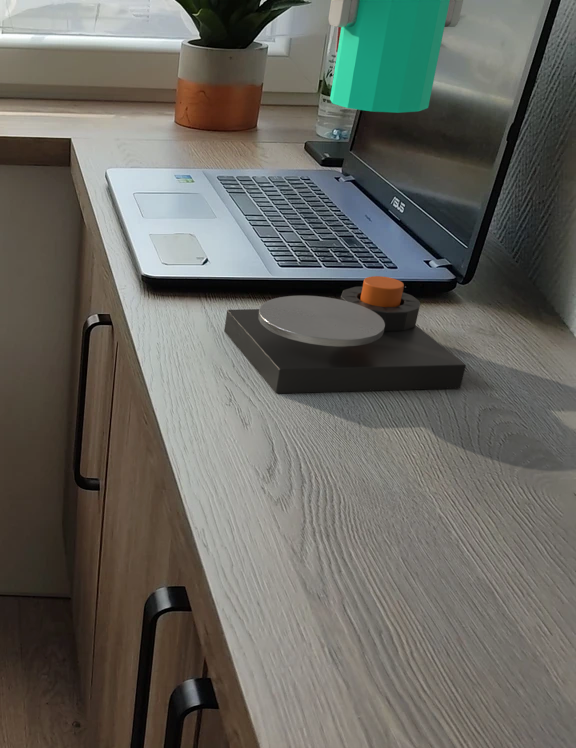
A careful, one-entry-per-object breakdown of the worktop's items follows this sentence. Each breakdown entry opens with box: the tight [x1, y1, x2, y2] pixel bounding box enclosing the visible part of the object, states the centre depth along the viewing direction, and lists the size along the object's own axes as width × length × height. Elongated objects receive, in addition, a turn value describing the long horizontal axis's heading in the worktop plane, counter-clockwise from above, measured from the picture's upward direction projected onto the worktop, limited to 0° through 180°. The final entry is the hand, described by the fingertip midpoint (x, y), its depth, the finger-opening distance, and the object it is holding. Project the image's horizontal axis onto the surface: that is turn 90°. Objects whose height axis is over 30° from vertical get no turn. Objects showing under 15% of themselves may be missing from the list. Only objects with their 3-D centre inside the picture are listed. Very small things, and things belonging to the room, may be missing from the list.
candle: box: [329, 0, 450, 114], centre depth 67 cm, size 6×6×12 cm
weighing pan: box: [258, 295, 385, 347], centre depth 81 cm, size 9×9×1 cm
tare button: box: [360, 275, 405, 307], centre depth 86 cm, size 3×3×2 cm
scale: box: [223, 286, 467, 394], centre depth 84 cm, size 14×12×4 cm
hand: (391, 26), depth 67 cm, fingers closed on candle, 5 cm apart
